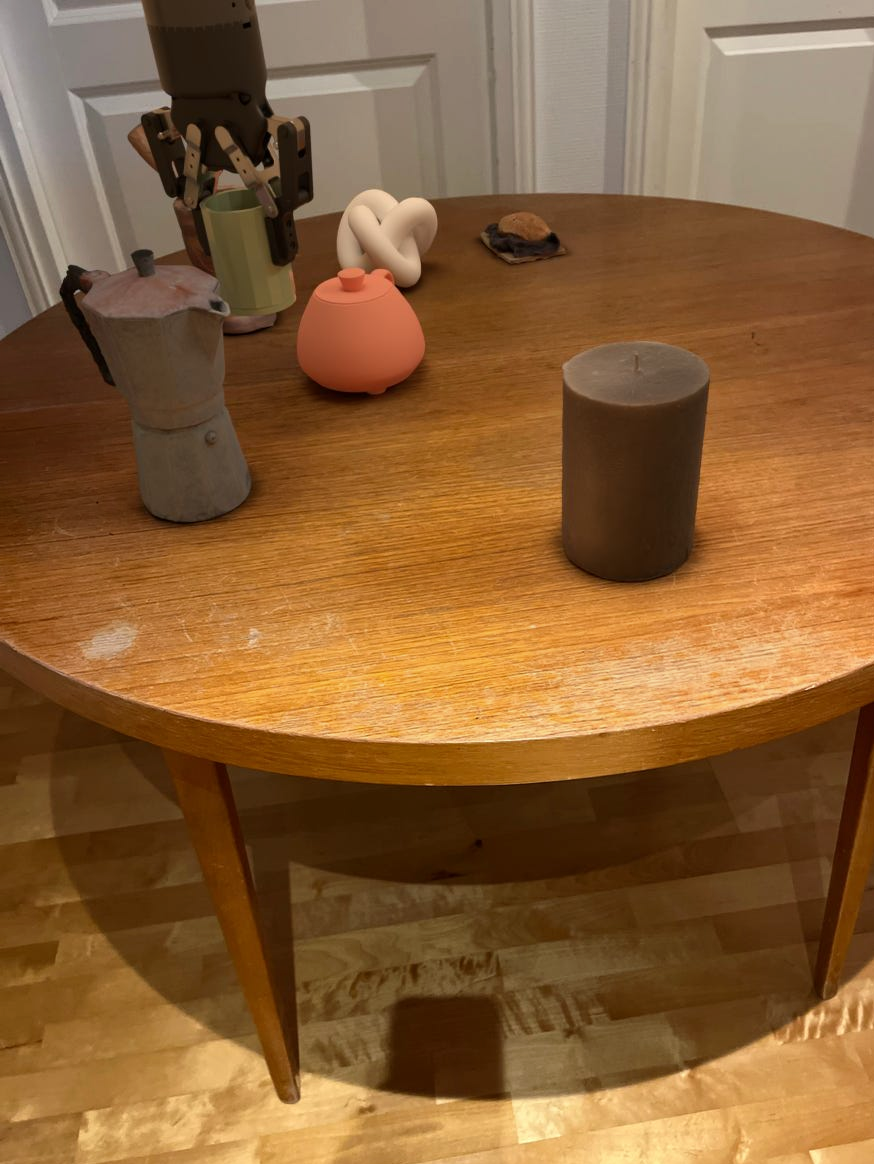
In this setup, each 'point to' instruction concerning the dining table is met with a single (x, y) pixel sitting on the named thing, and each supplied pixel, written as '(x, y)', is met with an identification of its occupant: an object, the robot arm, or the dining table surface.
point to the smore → (521, 238)
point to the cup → (245, 255)
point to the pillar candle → (632, 457)
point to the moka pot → (166, 380)
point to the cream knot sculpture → (386, 235)
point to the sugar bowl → (359, 333)
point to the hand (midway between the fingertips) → (250, 257)
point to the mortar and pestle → (192, 244)
